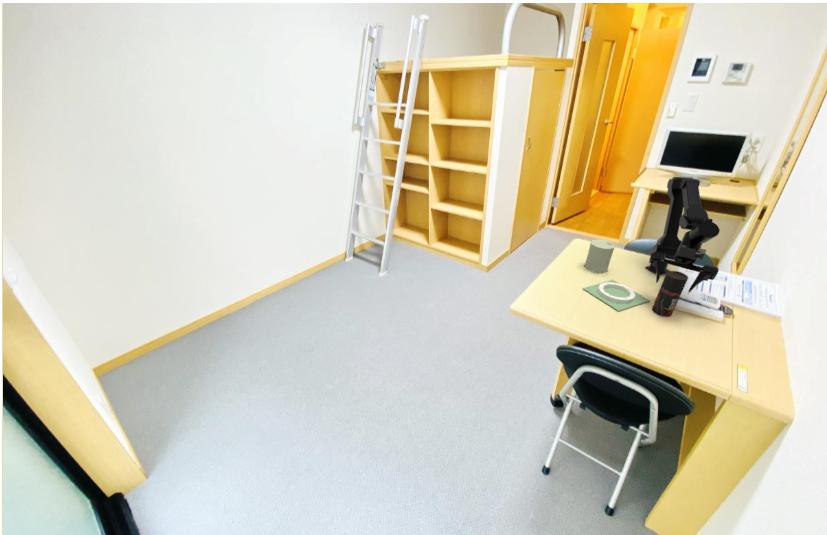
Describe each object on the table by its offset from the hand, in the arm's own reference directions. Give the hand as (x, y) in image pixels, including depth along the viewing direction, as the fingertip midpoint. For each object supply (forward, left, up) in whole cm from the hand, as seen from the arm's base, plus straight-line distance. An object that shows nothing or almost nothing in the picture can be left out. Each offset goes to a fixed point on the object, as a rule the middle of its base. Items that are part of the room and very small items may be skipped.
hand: (672, 287), depth 117 cm
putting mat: (+7, -14, -10) cm, 18 cm away
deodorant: (+1, 0, -10) cm, 10 cm away
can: (-3, -32, -10) cm, 34 cm away
